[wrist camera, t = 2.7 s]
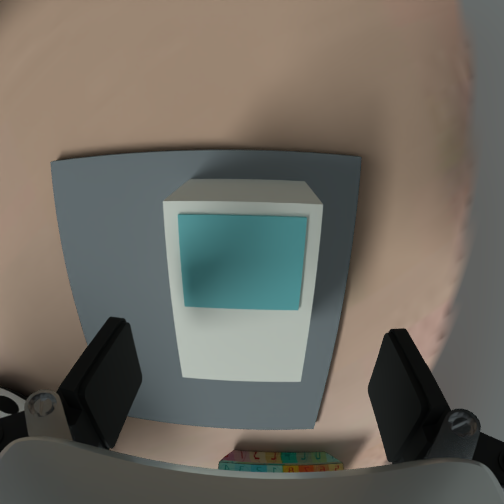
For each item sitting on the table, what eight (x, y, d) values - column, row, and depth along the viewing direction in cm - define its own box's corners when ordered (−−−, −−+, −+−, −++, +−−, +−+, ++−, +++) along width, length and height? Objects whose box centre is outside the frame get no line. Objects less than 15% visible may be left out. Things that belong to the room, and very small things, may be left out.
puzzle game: (346, 480, 22) (302, 533, 30) (339, 443, 26) (300, 507, 34) (216, 481, 22) (217, 531, 30) (221, 441, 26) (220, 505, 34)
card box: (190, 178, 16) (161, 202, 11) (304, 181, 16) (323, 205, 11) (197, 322, 20) (182, 379, 15) (292, 325, 20) (300, 383, 15)
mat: (55, 160, 16) (50, 161, 16) (358, 156, 16) (361, 157, 15) (116, 408, 25) (114, 413, 24) (312, 423, 25) (313, 428, 24)
